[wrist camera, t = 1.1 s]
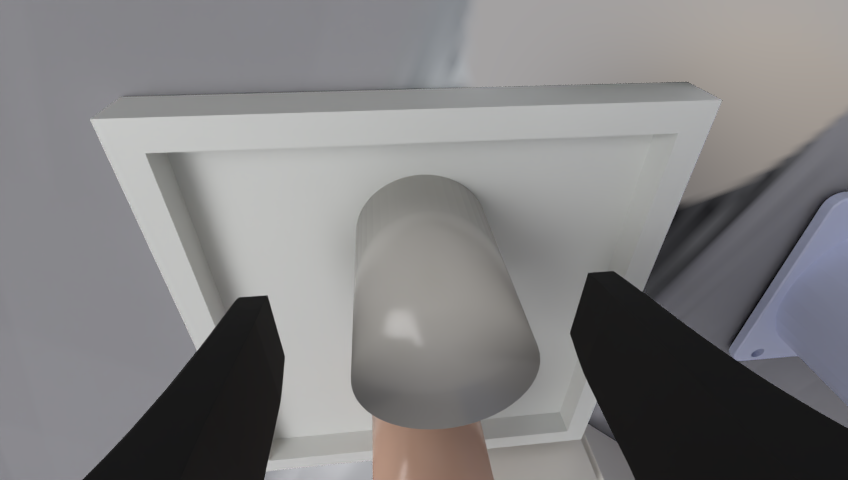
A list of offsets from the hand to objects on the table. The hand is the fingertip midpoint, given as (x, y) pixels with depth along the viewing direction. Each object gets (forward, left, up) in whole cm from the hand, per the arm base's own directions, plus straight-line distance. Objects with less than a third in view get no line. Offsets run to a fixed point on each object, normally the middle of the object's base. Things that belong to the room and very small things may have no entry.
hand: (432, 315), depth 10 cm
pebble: (0, 0, -3) cm, 3 cm away
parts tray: (0, +4, -4) cm, 5 cm away
